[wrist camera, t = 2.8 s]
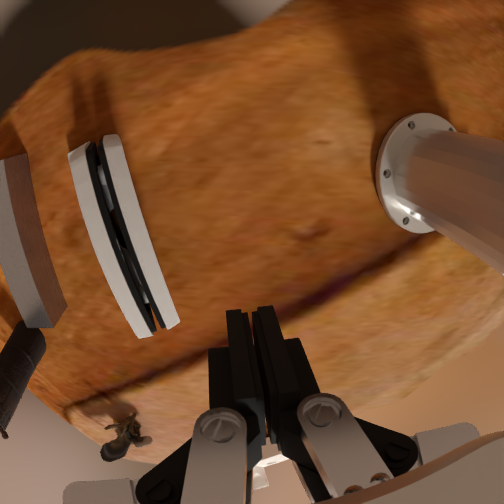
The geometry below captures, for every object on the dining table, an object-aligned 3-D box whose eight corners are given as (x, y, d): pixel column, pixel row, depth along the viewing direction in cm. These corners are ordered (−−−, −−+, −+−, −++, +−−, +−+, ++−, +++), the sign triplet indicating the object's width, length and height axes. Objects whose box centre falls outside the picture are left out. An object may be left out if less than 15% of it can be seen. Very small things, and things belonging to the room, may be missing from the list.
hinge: (68, 150, 21) (43, 147, 13) (116, 132, 23) (116, 119, 14) (125, 307, 28) (136, 368, 20) (166, 291, 30) (191, 347, 21)
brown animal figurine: (94, 405, 33) (91, 441, 35) (114, 446, 28) (110, 478, 30) (142, 400, 39) (133, 435, 41) (166, 436, 34) (154, 468, 36)
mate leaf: (27, 152, 21) (3, 159, 17) (67, 306, 28) (53, 328, 24) (-18, 170, 20) (-41, 178, 16) (22, 307, 27) (7, 326, 23)
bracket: (246, 454, 45) (256, 489, 39) (227, 450, 41) (236, 489, 35) (310, 431, 44) (324, 467, 38) (298, 425, 39) (313, 467, 34)
